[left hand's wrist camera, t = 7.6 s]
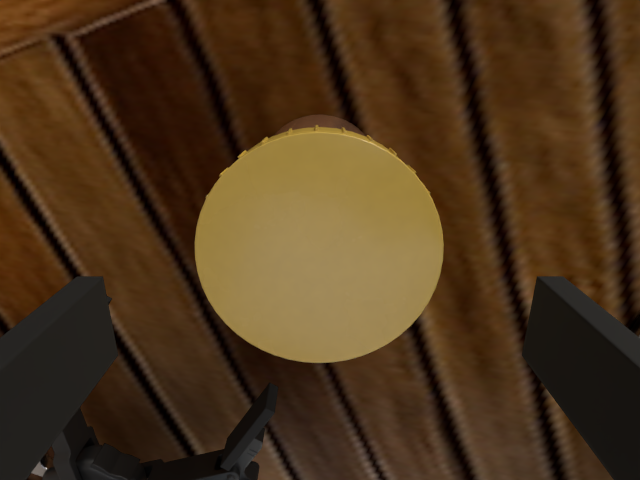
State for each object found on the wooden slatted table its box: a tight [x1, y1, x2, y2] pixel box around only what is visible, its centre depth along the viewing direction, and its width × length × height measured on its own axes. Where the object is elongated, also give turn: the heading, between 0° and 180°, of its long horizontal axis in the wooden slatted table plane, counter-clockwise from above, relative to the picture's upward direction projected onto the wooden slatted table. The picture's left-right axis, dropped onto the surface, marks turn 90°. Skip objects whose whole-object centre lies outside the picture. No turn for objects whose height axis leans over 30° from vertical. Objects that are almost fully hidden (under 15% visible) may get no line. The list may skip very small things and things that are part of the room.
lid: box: [195, 125, 443, 363], centre depth 18 cm, size 10×10×2 cm
